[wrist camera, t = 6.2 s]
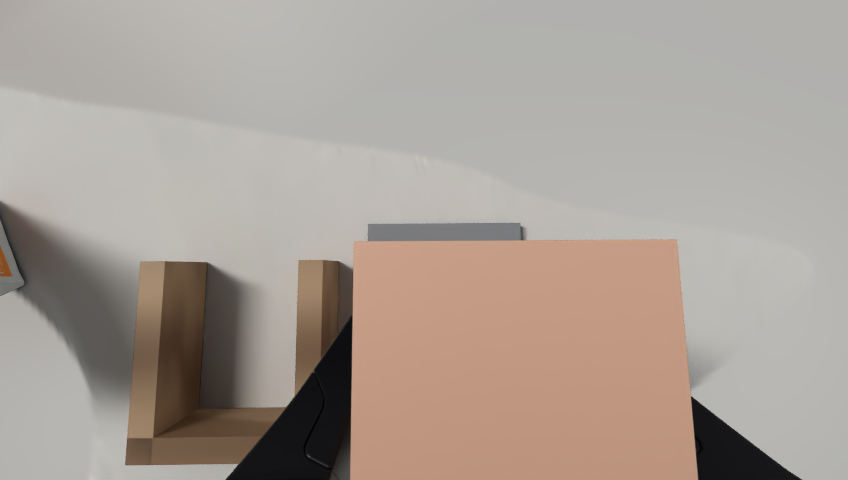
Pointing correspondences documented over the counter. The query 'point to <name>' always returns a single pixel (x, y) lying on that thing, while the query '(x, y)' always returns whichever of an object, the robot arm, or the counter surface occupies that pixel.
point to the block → (520, 361)
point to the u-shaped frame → (182, 357)
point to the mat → (445, 232)
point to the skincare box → (8, 267)
